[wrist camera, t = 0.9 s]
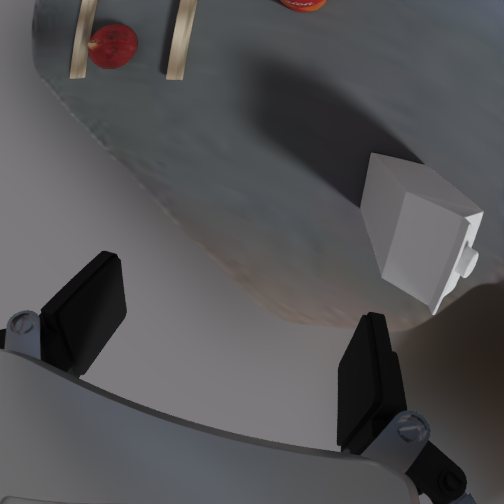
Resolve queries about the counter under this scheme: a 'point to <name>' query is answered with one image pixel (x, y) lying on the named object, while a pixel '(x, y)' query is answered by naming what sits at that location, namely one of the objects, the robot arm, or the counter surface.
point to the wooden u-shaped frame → (177, 47)
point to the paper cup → (303, 5)
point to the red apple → (112, 46)
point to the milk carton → (418, 228)
